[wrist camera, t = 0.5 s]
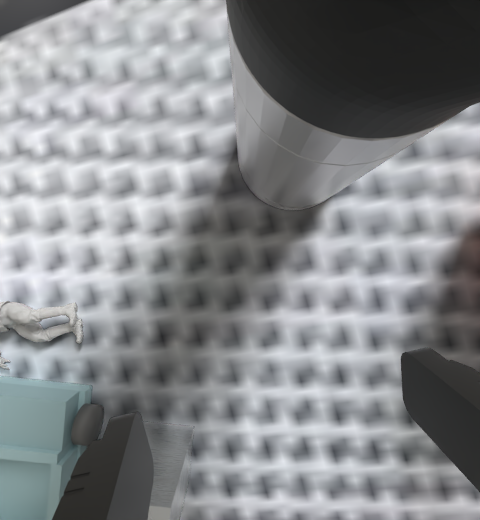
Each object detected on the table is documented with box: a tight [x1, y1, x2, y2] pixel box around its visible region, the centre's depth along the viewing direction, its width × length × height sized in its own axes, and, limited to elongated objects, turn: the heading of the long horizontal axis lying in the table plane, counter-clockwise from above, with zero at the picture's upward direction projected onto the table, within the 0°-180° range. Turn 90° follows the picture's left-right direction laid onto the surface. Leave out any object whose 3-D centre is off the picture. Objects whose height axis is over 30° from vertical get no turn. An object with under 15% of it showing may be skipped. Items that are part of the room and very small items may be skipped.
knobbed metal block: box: [143, 421, 194, 520], centre depth 23 cm, size 5×6×11 cm
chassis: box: [0, 376, 104, 520], centre depth 27 cm, size 16×12×4 cm
